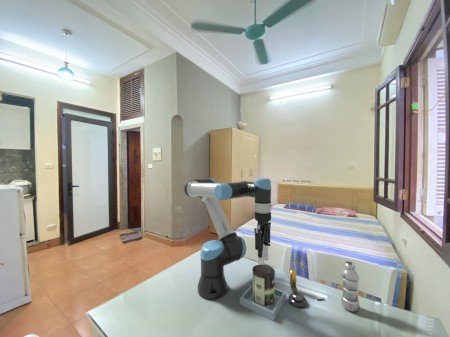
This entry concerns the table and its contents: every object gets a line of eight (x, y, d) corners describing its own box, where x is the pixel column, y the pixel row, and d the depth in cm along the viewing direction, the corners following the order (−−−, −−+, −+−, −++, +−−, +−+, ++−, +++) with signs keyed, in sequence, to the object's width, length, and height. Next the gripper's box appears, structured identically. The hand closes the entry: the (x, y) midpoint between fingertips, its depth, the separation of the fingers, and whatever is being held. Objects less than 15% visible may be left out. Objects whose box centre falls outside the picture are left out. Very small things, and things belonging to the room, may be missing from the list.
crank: (304, 302, 84) (304, 283, 84) (293, 302, 85) (293, 283, 85) (297, 285, 96) (297, 269, 96) (287, 285, 97) (287, 268, 96)
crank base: (286, 303, 86) (286, 300, 86) (291, 293, 92) (291, 291, 92) (304, 310, 81) (304, 308, 81) (308, 300, 88) (308, 297, 88)
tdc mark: (317, 300, 87) (317, 300, 87) (316, 299, 88) (316, 298, 88) (325, 300, 88) (325, 299, 88) (323, 298, 89) (323, 298, 89)
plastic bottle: (360, 316, 78) (360, 268, 78) (341, 310, 81) (340, 264, 81) (359, 306, 83) (358, 262, 83) (341, 301, 87) (341, 258, 87)
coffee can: (274, 293, 91) (274, 265, 91) (275, 309, 81) (275, 277, 81) (253, 291, 93) (252, 263, 93) (251, 306, 83) (251, 274, 83)
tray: (239, 304, 85) (239, 297, 85) (255, 286, 98) (255, 280, 98) (273, 321, 76) (273, 313, 76) (286, 298, 89) (286, 292, 89)
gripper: (262, 216, 78) (262, 272, 78) (277, 209, 92) (277, 256, 92) (246, 214, 82) (247, 267, 82) (263, 207, 96) (263, 252, 96)
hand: (263, 261), depth 87 cm, fingers open, 4 cm apart
